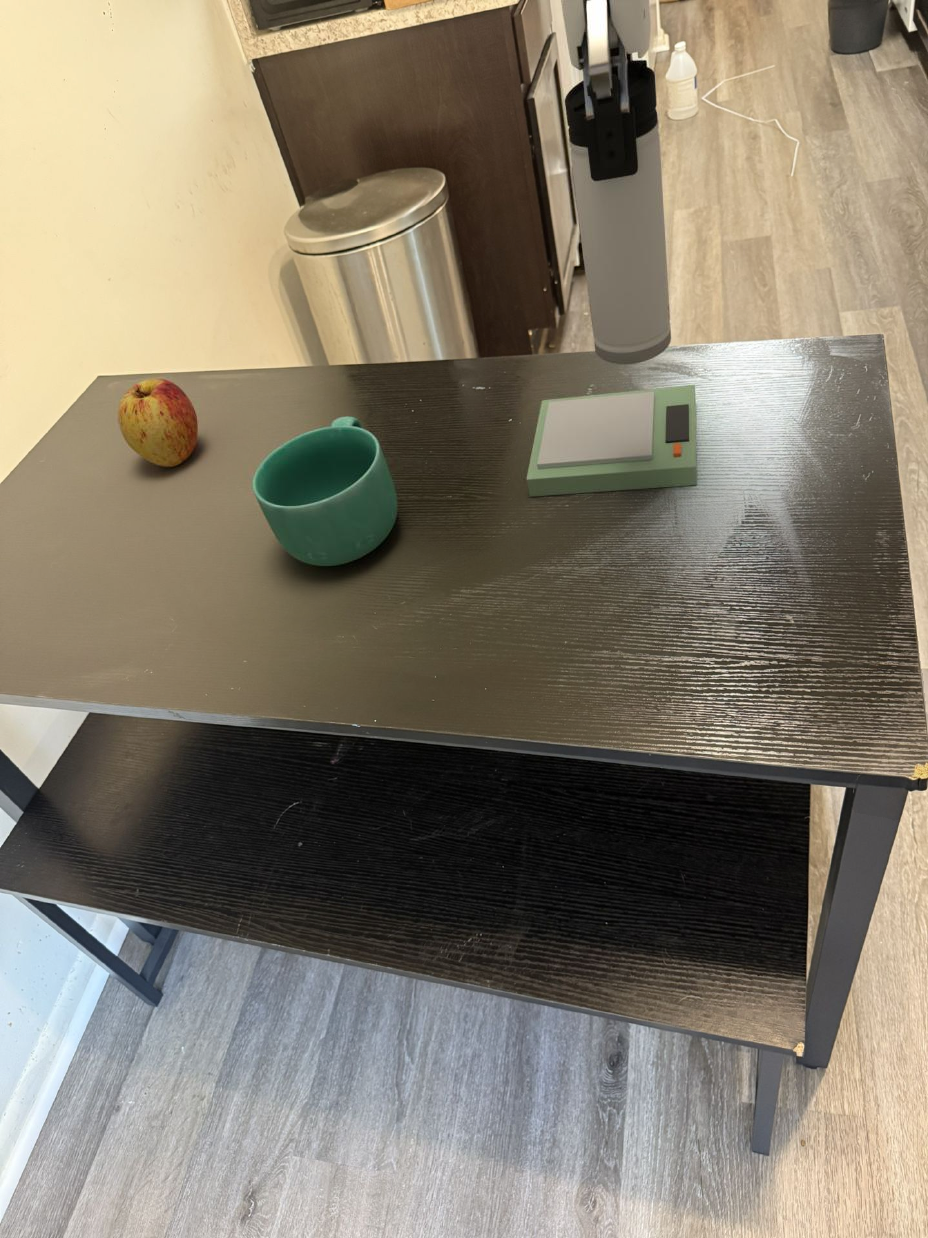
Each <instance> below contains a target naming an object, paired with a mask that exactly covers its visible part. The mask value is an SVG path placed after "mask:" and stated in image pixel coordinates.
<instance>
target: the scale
mask: <svg viewBox="0 0 928 1238" xmlns="http://www.w3.org/2000/svg"><path fill="white" fill-rule="evenodd" d="M696 405H697V403H696V385H695V384H688V385H677V386H669V387H660V388H649V389H648V388H647V389H641V390H631V391H619V392H612V393H611V392H610V393H599V394H591V395H581V396H572V397H571V396H570V397H562V398H561V397H560V398H553V399H552V398H551V399H542V400H541V403H540V408H539V413H538V414H539V415H538V417H537V418H538V419H537V423H536V429H535V434H534V438H533V443H532V448H531V453H530V459H529V464H528V468H527V474H526V479H525V480H526V485H527V489H528V494H529V497H530V498H533V497H544V496H546V497H547V496H548V497H549V496H561V495H574V494H587V493H588V494H589V493H590V494H591V493H602V492H615V491H618V492H619V491H630V490H644V489H645V490H646V489H657V488H658V489H659V488H671V487H687V486H697V485H698V463H697V458H698V457H697V411H696V410H697V407H696Z"/></svg>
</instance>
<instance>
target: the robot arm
mask: <svg viewBox="0 0 928 1238" xmlns="http://www.w3.org/2000/svg"><path fill="white" fill-rule="evenodd" d="M560 3H561V11H562V19H563V24H564V30H565V31H564V32H565V36H566V37H565V38H566V43H567V48H568V55H569V59H570V60H569V61H570V64H571V66H573V67H574V68H575V69H576V70H578V71H581V72H582V78H583V79H582V81H583V80H584V94H585V107H586V117H585V119H584V120H585V129H586V138H587V147H588V156H589V165H590V174H591V178H592V180H593V181H601V180H607V179H613V178H619V177H625V176H631V175H634V174H636V173H637V171H638V157H637V143H636V130H635V117H634V107H633V108H629V91H628V73H627V63H628V62H627V61H628V60H634V59H633V54H635V53H637V58H638V59H642V58H644V57H645V56H646V54H647V53H648V51H649V49H650V43H651V42H650V41H651V26H652V25H651V22H652V21H651V9H650V0H560ZM615 70H618V76H619V79H618V78H617V76H616V74H614V75H612V71H615ZM619 93H620V94H619Z"/></svg>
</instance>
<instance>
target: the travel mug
mask: <svg viewBox="0 0 928 1238" xmlns="http://www.w3.org/2000/svg"><path fill="white" fill-rule="evenodd" d="M627 62H628V63H627V73H628V91H629V108H633V107H634V117H635V130H636V143H637V157H638V171H637V173H636V174H634V175H631V176H625V177H619V178H613V179H607V180H601V181H593V180H592V178H591V174H590V165H589V156H588V147H587V138H586V129H585V120H584V119H585V117H586V107H585V94H584V80H583V79H582V81H580V82H578V83H577V84H576V85H574V86H573V87H572V88H571V89H570V90H569V91H568V92H567V94H566V95H565V98H564V107H565V114H566V122H567V124H566V125H567V126H568V129H567V130H568V131H567V133H568V146H569V149H570V150H569V155H570V161H571V169H572V177H573V178H572V179H573V183H574V184H573V185H574V193H575V194H574V195H575V201H576V207H577V208H576V210H577V217H578V218H577V219H578V225H579V234H580V241H581V250H582V256H583V264H584V274H585V281H586V289H587V297H588V304H589V312H590V318H591V319H590V320H591V327H592V334H593V335H592V336H593V337H592V338H593V344H594V351H595V352H594V353H596V355H597V356H598V357H599V358H600V359H601V360H603V361H604V362H608V363H611V364H616V365H634V364H639V363H643V362H644V363H645V362H646V361H649V360H652V359H654V358H656V357H658V356H659V355H661V354H662V353H663V352H665V351H666V350H667V348H668V347H669V346H670V343H671V342H672V328H671V312H670V293H669V278H668V277H669V276H668V262H667V245H666V244H667V242H666V225H665V210H664V207H665V206H664V192H663V190H664V189H663V176H662V175H663V174H662V173H663V172H662V158H661V157H662V155H661V141H660V139H661V137H660V132H659V128H660V124H659V123H660V121H659V119H658V111H657V109H656V108H657V106H658V104H657V103H658V101H657V87H656V74H655V71H654V70H653V69H652V68H651V67H650V66H648V61H647V60H646V59H633V60H628V61H627ZM614 74H616V76H617V78H618V79H619V76H618V70H615V71H612V75H614ZM619 94H620V93H619Z"/></svg>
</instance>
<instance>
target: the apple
mask: <svg viewBox="0 0 928 1238" xmlns="http://www.w3.org/2000/svg"><path fill="white" fill-rule="evenodd" d="M117 422H118V423H117V424H118V427H119V430H120V432H121V435H122V437H123V439H124V441H125V442H126V444H127V445H128V446H129V447H130V448H131V449H132V450H133V451H134V452H135V453H136V454H137V455H139V456H140V457H141V458H143V459H145V460H146V461H147V462H150V463H152V464H154V465H156V466H159V467H164V468H172V467H176V466H178V465H181V464H182V463H183V462H184V461H186V460H187V459H188V458H190V456H191V454H192V453H193V451H194V450H195V447H196V445H197V442H198V434H199V431H198V430H199V429H198V425H199V424H198V423H199V422H198V417H197V413H196V410H195V407H194V405H193V403H192V401H191V400H190V398H189V396H188V395H187V393H185V391H184V390H183V389H182V388H181V387H180V386H178V385H177V384H176V383H174V382H173V381H170V380H167V379H163V378H149V379H144V380H142V381H138V382H137V383H136V384H134V385H133V386H132V387H131V388H129V389H128V390H127V391H126V393H125V394H124V395H123V396H122V398H121V400H120V402H119V404H118V407H117Z"/></svg>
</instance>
